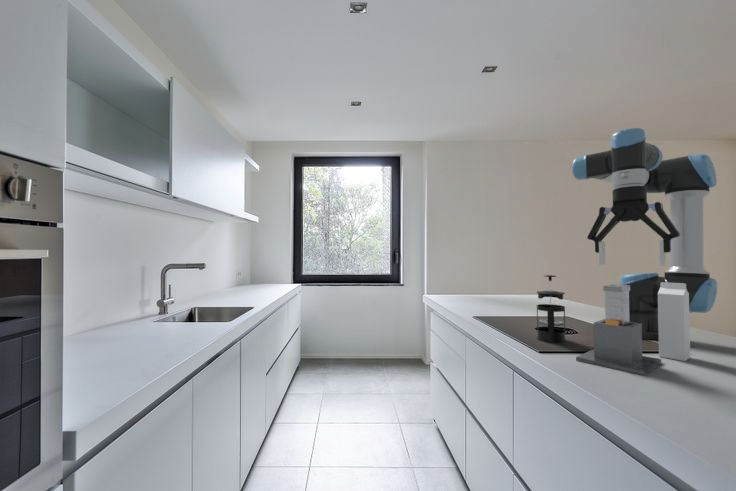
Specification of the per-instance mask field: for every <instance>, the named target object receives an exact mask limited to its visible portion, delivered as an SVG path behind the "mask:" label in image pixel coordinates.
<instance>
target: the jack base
mask: <svg viewBox="0 0 736 491" xmlns="http://www.w3.org/2000/svg"><path fill="white" fill-rule="evenodd" d="M629 323H630V326H622V325H620V321H616V320H609V319H607V320H606V318H604V319H599V320H597V321H595V322H593V349H591V350H589V351H587V352H584V353H582V354H580V355H578V356H575V357H576V358H575V360H576V362H581V363H586V364H590V365H591V364H592V365H595V366H600V367H605V368H609V369H613V370H619V371H623V372H627V373H633V374H636V375H641V376H646V375H647V374H648V373H650V372H651V371H652V370H654V369H655V368H656V367H658V366H659V365H660V364H662V358H656V357H651V356H646V355H643V339H642V323H635V322H629Z"/></svg>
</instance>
